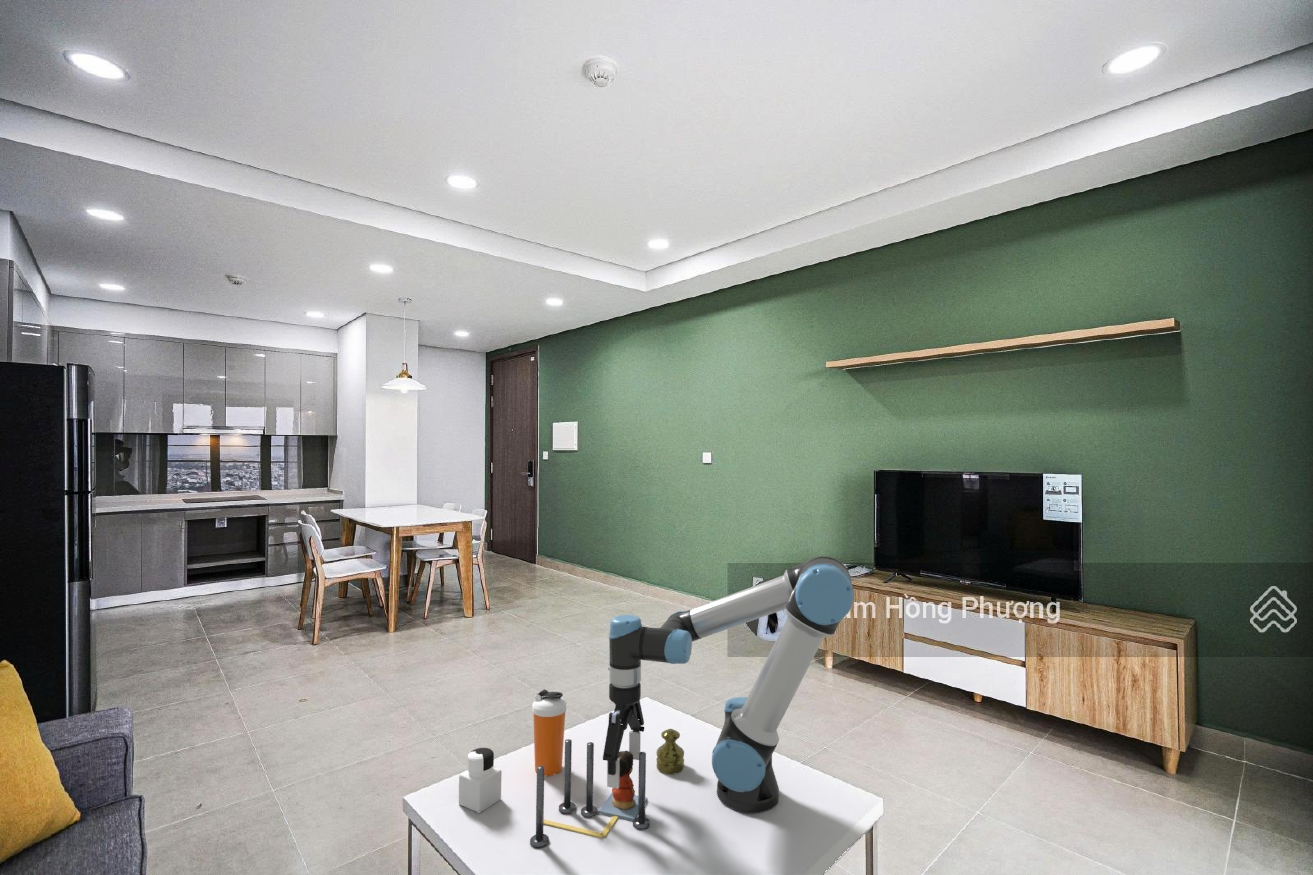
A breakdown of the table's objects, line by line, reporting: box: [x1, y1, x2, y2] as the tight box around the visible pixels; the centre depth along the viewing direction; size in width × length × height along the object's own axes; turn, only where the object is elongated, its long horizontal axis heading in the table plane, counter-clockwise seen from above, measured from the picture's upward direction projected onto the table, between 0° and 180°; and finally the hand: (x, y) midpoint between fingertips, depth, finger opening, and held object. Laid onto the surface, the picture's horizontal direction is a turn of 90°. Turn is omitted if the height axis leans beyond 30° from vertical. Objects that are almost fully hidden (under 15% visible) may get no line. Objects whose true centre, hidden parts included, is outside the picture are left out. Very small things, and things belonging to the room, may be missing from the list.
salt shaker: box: [656, 728, 685, 775], centre depth 166 cm, size 7×7×10 cm
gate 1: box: [529, 738, 577, 849], centre depth 140 cm, size 4×17×16 cm, turn 161°
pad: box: [598, 791, 648, 822], centre depth 147 cm, size 9×9×1 cm
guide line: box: [543, 816, 619, 839], centre depth 142 cm, size 16×8×1 cm, turn 71°
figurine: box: [611, 750, 636, 809], centre depth 148 cm, size 6×6×12 cm
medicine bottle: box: [458, 747, 502, 814], centre depth 149 cm, size 7×7×12 cm
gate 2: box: [580, 741, 651, 831], centre depth 143 cm, size 17×4×16 cm, turn 71°
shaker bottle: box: [531, 689, 567, 777], centre depth 164 cm, size 9×9×20 cm
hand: (624, 772), depth 147 cm, fingers open, 13 cm apart
